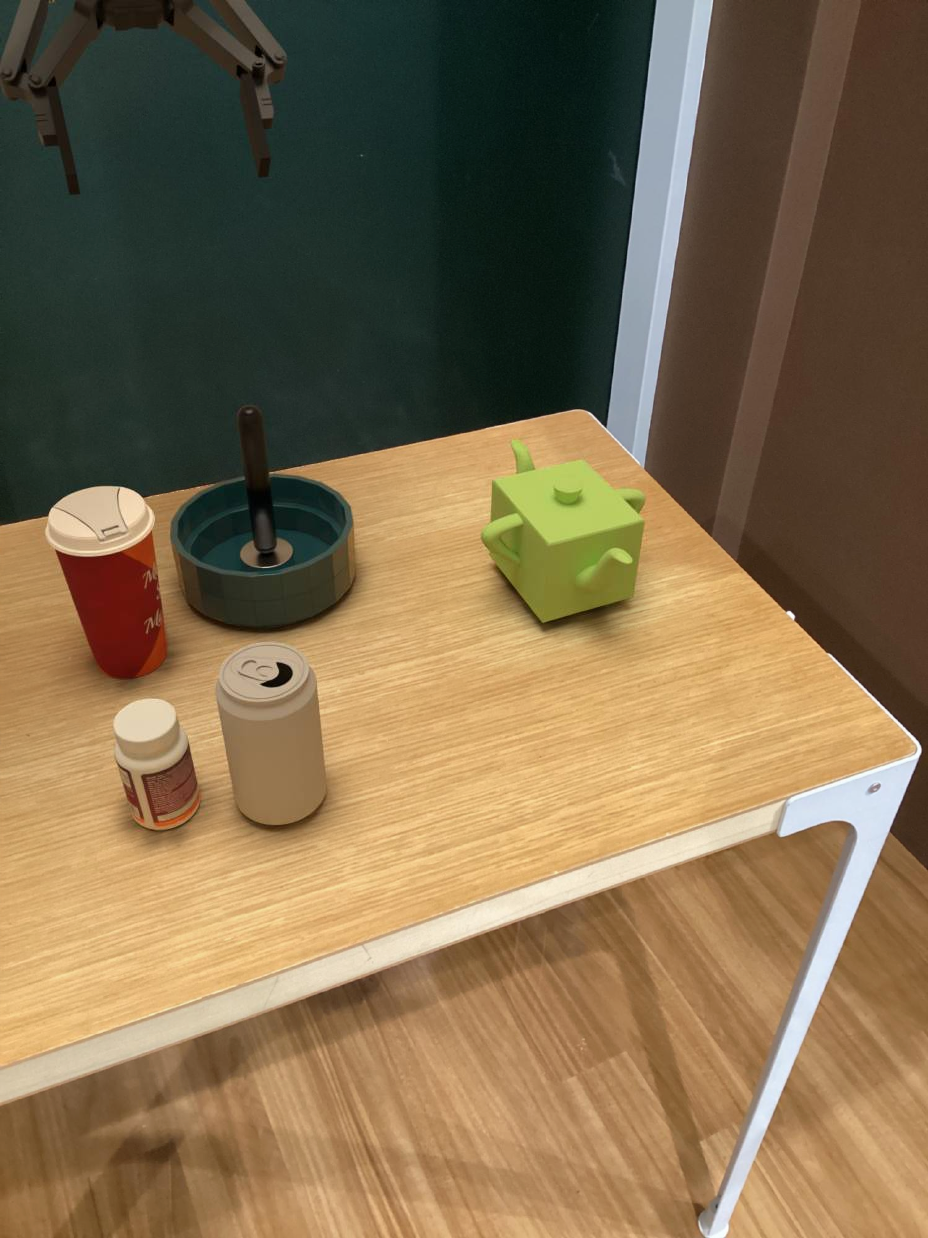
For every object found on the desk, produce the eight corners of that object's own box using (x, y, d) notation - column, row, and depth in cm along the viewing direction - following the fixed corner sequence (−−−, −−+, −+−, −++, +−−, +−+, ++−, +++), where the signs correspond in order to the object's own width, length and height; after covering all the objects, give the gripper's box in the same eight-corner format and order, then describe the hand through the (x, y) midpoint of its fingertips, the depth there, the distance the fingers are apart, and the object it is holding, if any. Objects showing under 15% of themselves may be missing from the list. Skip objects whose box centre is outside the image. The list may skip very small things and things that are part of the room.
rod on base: (242, 588, 92) (218, 422, 81) (241, 557, 95) (218, 394, 85) (296, 583, 92) (279, 418, 82) (293, 552, 96) (276, 390, 86)
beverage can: (301, 843, 72) (286, 715, 64) (217, 816, 73) (192, 688, 66) (342, 776, 76) (332, 650, 69) (262, 752, 78) (244, 627, 70)
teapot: (618, 655, 87) (633, 549, 80) (461, 623, 90) (462, 518, 83) (648, 550, 98) (663, 450, 91) (507, 525, 101) (512, 425, 94)
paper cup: (196, 665, 85) (168, 518, 76) (102, 701, 82) (61, 553, 73) (158, 613, 90) (128, 470, 81) (68, 645, 87) (26, 500, 78)
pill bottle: (211, 784, 76) (193, 698, 70) (185, 837, 72) (165, 750, 67) (147, 774, 76) (125, 689, 71) (119, 826, 72) (94, 740, 67)
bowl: (178, 642, 87) (167, 584, 83) (183, 536, 99) (173, 480, 95) (364, 623, 89) (361, 566, 86) (347, 522, 101) (344, 467, 97)
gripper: (273, -66, 85) (332, 186, 84) (-63, -56, 78) (-4, 218, 77) (281, -141, 78) (346, 133, 77) (-87, -137, 71) (-23, 163, 70)
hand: (171, 176), depth 77 cm, fingers open, 13 cm apart
